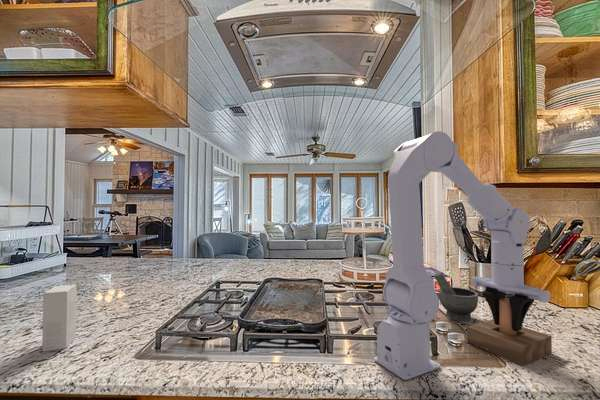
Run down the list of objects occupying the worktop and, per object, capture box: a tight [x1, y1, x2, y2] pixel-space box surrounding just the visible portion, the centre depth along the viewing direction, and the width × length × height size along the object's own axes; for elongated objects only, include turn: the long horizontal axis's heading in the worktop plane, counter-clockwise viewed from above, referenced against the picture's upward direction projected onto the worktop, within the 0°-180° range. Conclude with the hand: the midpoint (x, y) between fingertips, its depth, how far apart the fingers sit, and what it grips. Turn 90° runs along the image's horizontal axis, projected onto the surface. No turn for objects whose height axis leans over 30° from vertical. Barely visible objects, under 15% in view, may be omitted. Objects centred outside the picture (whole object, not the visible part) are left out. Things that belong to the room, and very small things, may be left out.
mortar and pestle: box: [432, 271, 479, 322], centre depth 83 cm, size 11×9×12 cm
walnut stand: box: [466, 319, 553, 367], centre depth 64 cm, size 11×11×4 cm
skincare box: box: [41, 284, 78, 353], centre depth 65 cm, size 6×4×12 cm
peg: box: [499, 298, 516, 337], centre depth 64 cm, size 3×3×9 cm
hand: (507, 326), depth 64 cm, fingers closed on peg, 3 cm apart
